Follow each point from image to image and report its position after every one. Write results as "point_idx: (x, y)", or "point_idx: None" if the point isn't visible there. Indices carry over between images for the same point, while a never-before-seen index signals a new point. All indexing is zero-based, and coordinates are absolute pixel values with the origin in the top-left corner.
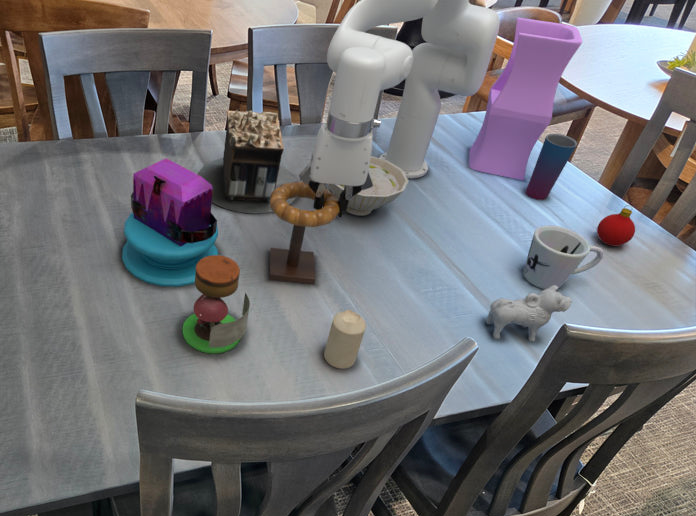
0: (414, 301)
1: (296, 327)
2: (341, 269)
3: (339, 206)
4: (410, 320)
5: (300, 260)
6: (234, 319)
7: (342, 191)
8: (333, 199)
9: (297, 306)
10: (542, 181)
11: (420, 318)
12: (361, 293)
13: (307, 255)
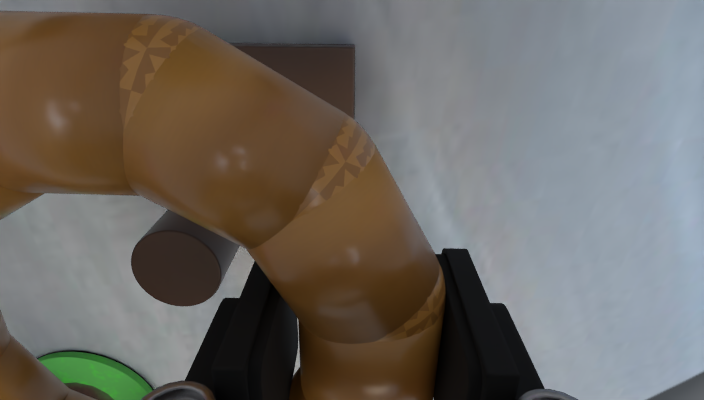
0: (681, 242)
1: (296, 371)
2: (466, 107)
3: (438, 378)
4: (627, 319)
5: None
6: (130, 378)
7: (495, 373)
8: (382, 387)
9: None
10: None
11: (662, 308)
12: (510, 227)
13: (326, 79)
